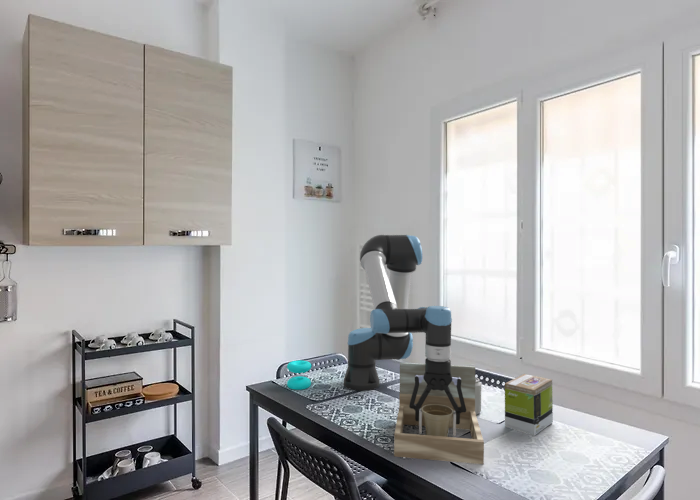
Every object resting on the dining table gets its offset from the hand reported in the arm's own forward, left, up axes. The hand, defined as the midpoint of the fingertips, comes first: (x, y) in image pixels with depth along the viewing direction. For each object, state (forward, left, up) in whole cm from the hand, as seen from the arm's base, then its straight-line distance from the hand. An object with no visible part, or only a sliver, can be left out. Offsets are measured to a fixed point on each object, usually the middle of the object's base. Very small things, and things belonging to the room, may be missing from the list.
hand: (437, 432), depth 132 cm
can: (-26, +12, -3) cm, 29 cm away
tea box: (-18, +30, -3) cm, 35 cm away
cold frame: (0, 0, -2) cm, 2 cm away
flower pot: (0, 0, -2) cm, 2 cm away
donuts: (-41, -55, -3) cm, 69 cm away
